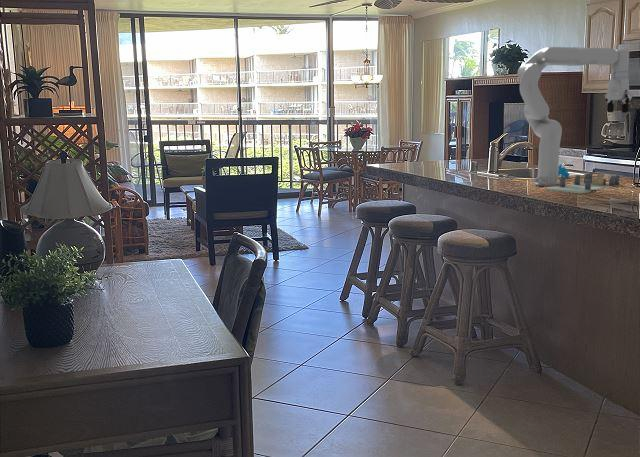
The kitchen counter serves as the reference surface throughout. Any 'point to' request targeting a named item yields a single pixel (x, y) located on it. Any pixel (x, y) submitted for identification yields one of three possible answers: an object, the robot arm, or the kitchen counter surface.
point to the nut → (598, 181)
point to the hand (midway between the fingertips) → (617, 112)
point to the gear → (563, 171)
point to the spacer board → (583, 184)
